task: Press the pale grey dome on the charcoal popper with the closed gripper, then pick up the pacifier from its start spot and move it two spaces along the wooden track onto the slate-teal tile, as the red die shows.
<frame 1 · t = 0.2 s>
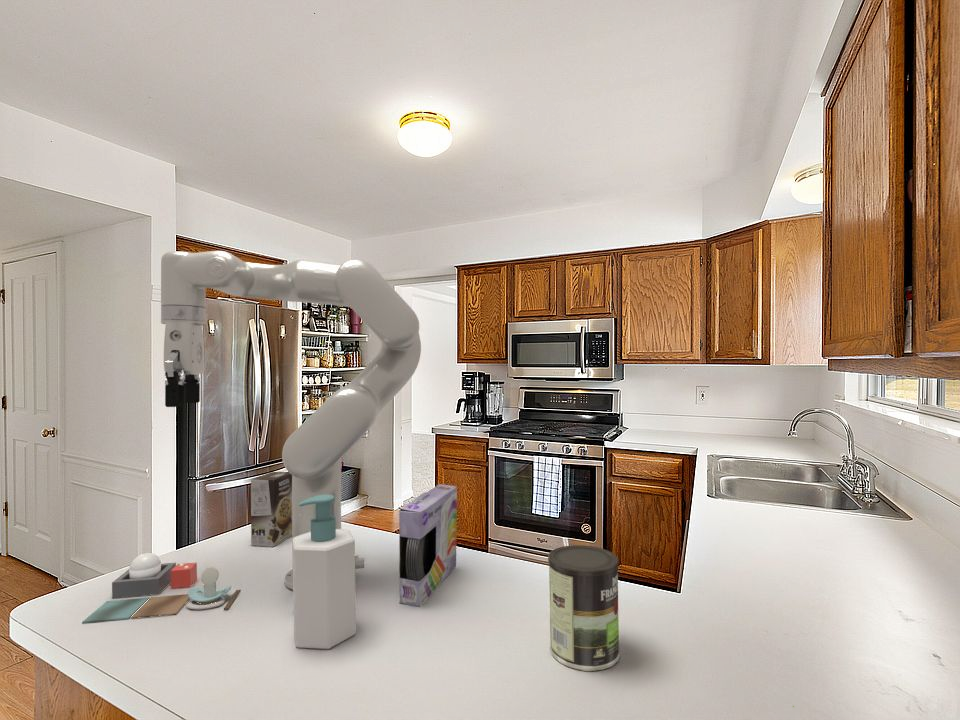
hand: (183, 404, 99), 36 cm above the countertop, tool pointing down, fingers open, 9 cm apart
coffee can: (584, 652, 76), on the countertop
popper base: (145, 587, 100), on the countertop
pacifier: (207, 604, 93), on the countertop
cake pan box: (429, 587, 99), on the countertop
soap bottle: (324, 634, 82), on the countertop
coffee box: (273, 541, 126), on the countertop
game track: (163, 606, 92), on the countertop
popper dome: (145, 567, 100), point 4 cm above the countertop, slide at 0.0 cm
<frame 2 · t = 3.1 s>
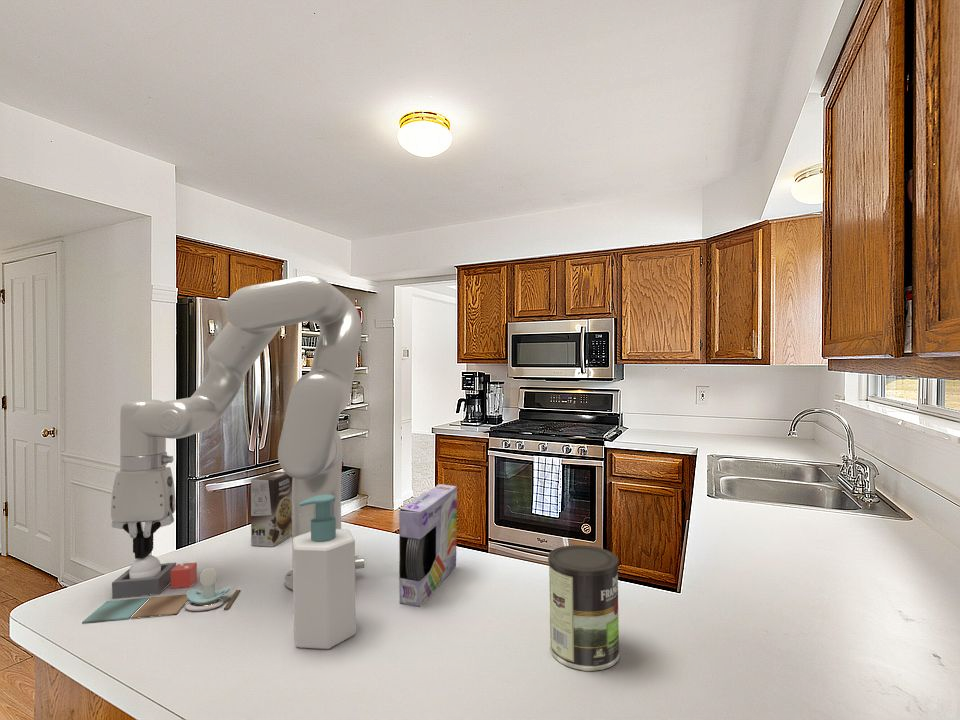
hand: (143, 555, 100), 6 cm above the countertop, tool pointing down, fingers closed
popper dome: (145, 569, 100), point 4 cm above the countertop, slide at 0.4 cm, touching gripper
everything else where it was.
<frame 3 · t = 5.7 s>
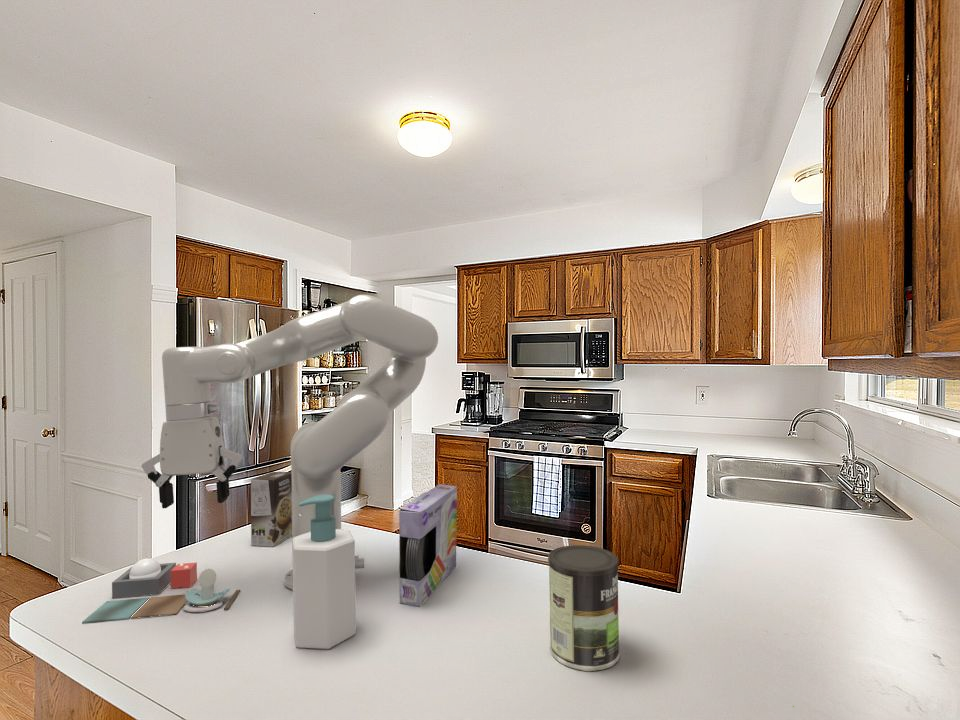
hand: (195, 503, 96), 18 cm above the countertop, tool pointing down, fingers open, 9 cm apart
popper dome: (145, 572, 100), point 3 cm above the countertop, slide at 1.0 cm
everything else where it was.
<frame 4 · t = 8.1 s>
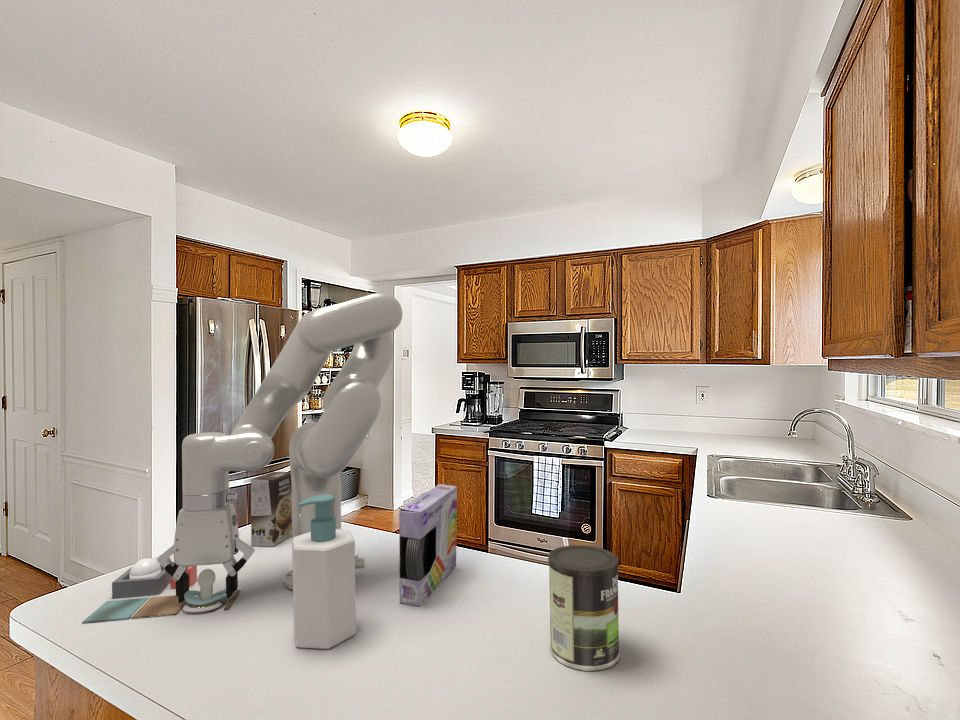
hand: (207, 596, 93), 1 cm above the countertop, tool pointing down, fingers closed on pacifier, 7 cm apart
pacifier: (204, 607, 92), on the countertop, touching gripper
everything else where it was.
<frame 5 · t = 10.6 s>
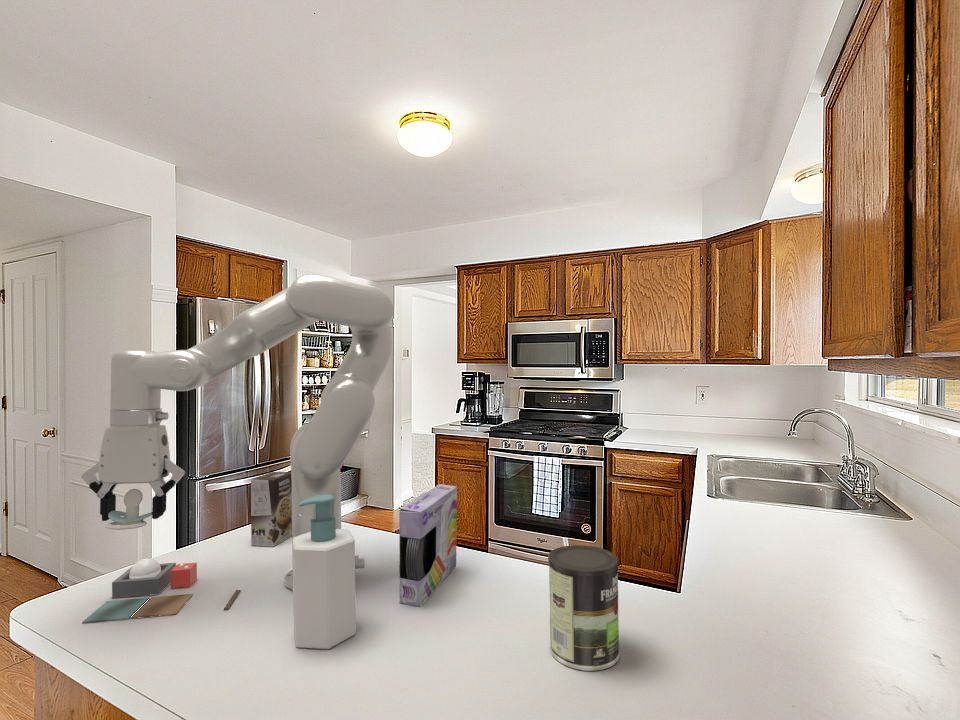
hand: (133, 517, 91), 17 cm above the countertop, tool pointing down, fingers closed on pacifier, 7 cm apart
pacifier: (128, 527, 90), point 15 cm above the countertop, touching gripper
everything else where it was.
when the fingers open (3 cm above the countertop, at t = 13.0 s): pacifier drops 1 cm, resting on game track.
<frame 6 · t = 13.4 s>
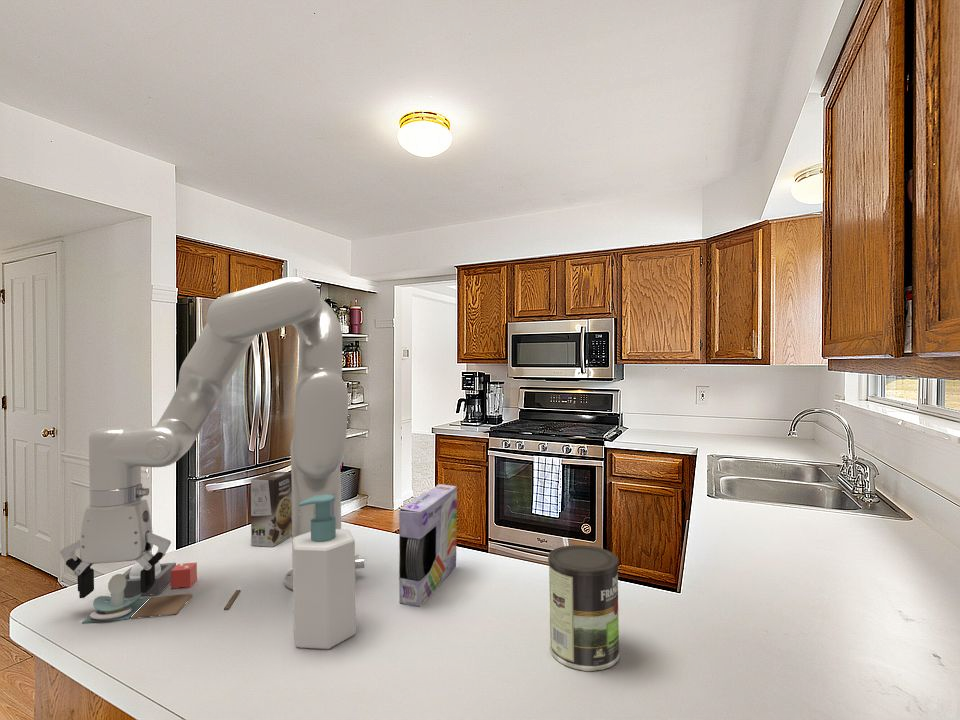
hand: (117, 592, 91), 3 cm above the countertop, tool pointing down, fingers open, 9 cm apart
pacifier: (114, 614, 89), resting on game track
everything else where it was.
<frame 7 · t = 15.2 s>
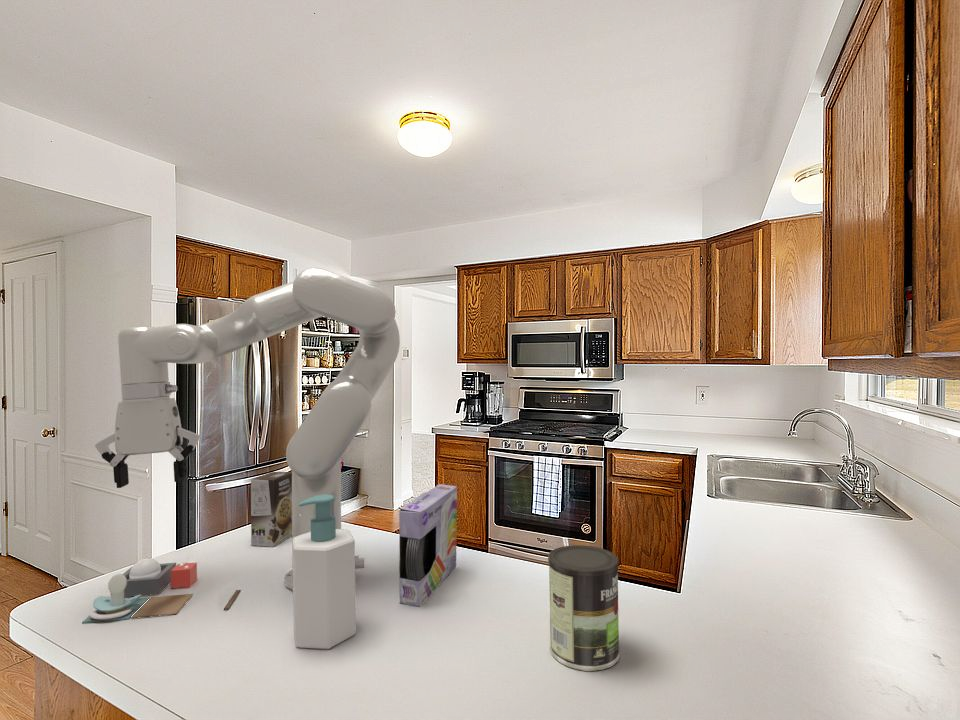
hand: (151, 483, 96), 21 cm above the countertop, tool pointing down, fingers open, 9 cm apart
nothing on the countertop moved.
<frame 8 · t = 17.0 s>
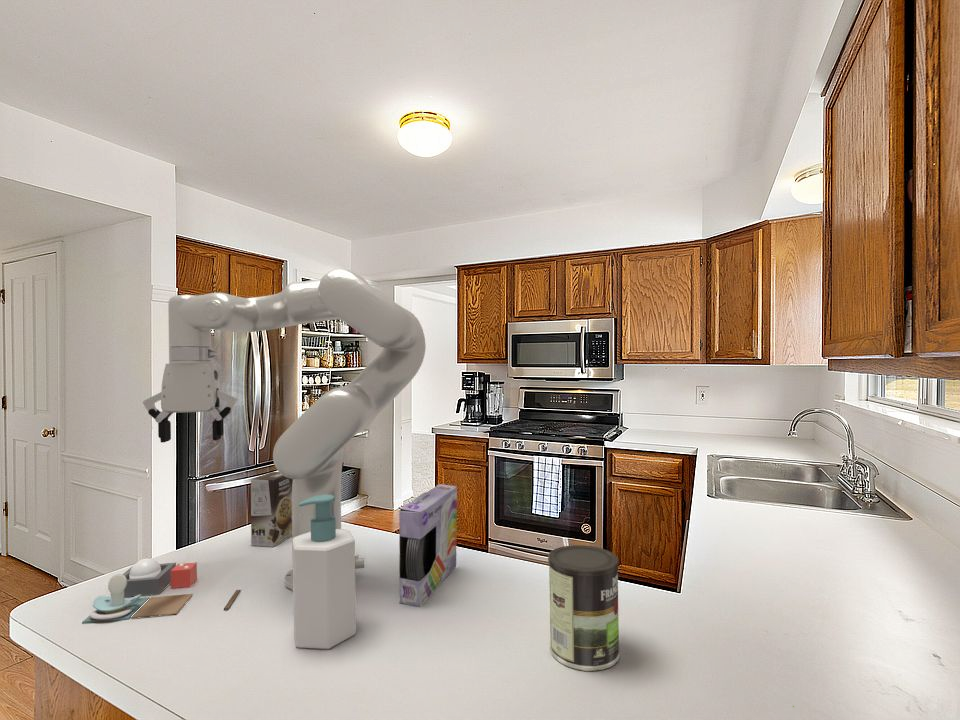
hand: (191, 440, 104), 28 cm above the countertop, tool pointing down, fingers open, 9 cm apart
nothing on the countertop moved.
at the end: popper dome slide at 1.0 cm; pacifier inside the target area (1.5 cm from its centre), resting on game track; the gripper is holding nothing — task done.
